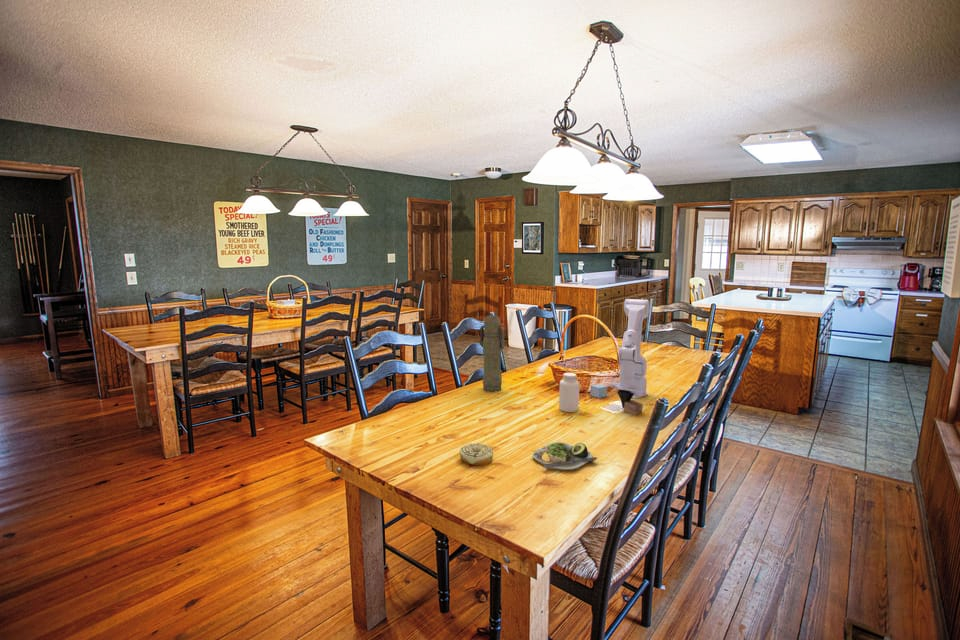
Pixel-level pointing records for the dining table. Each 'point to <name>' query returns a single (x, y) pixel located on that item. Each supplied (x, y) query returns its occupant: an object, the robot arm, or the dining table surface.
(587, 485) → the dining table surface
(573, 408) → the pill bottle
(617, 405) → the letter
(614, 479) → the dining table surface
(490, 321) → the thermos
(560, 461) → the salad plate
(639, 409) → the walnut block
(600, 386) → the slate cube
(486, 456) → the decorated donut
